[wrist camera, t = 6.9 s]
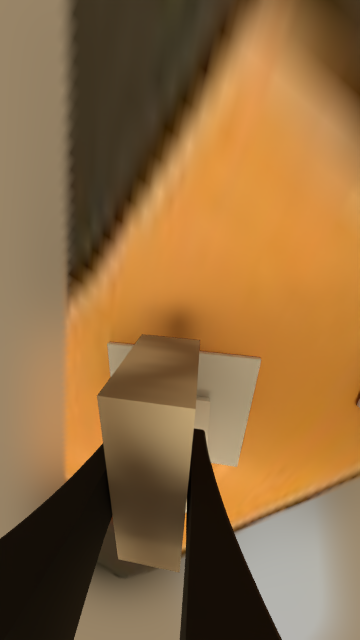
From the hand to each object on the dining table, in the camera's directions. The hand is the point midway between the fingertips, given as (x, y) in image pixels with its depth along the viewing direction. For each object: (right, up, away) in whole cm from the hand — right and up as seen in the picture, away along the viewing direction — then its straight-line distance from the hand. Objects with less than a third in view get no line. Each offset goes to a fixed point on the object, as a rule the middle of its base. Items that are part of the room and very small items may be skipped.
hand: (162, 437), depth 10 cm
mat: (+1, -3, +10) cm, 10 cm away
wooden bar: (0, +1, +1) cm, 2 cm away
